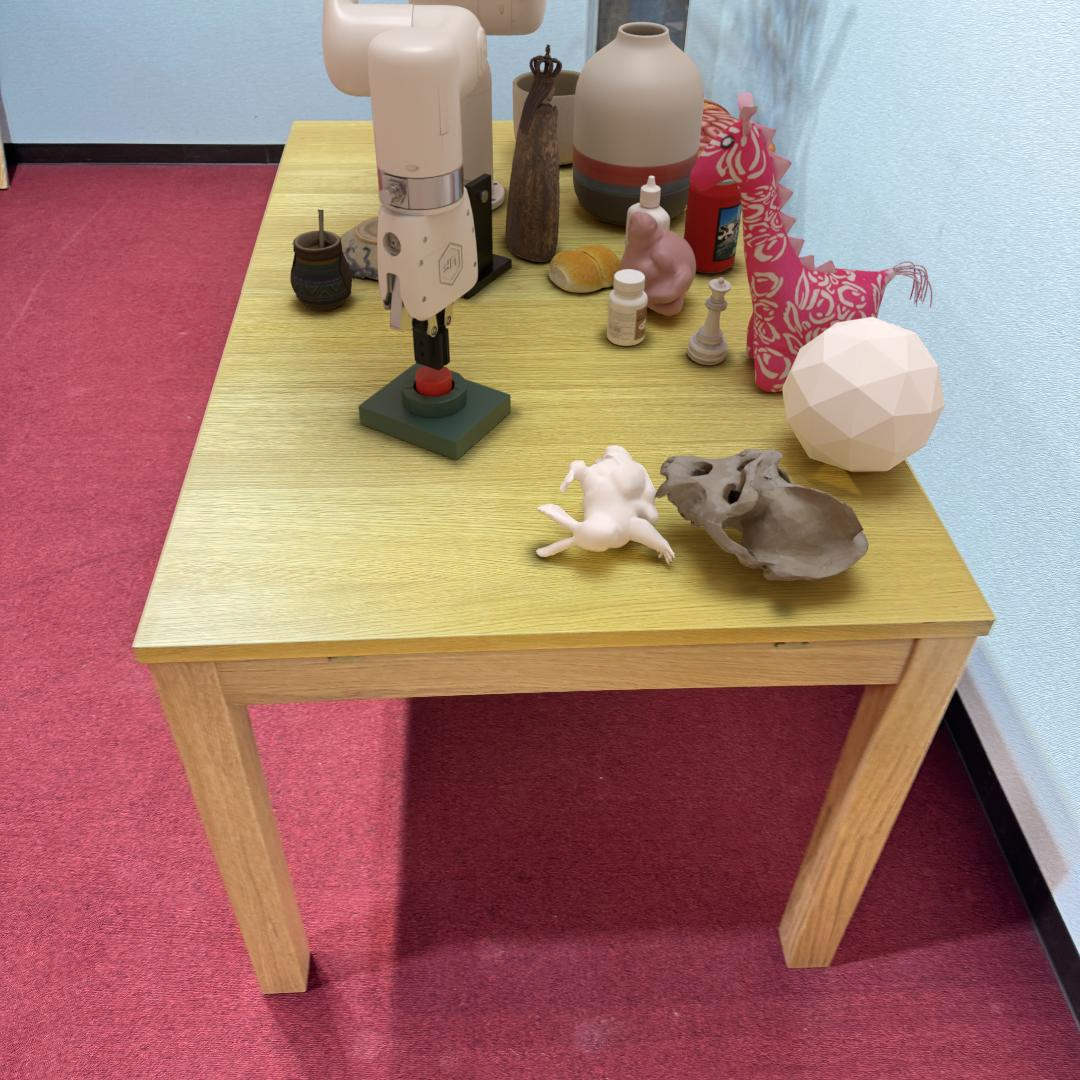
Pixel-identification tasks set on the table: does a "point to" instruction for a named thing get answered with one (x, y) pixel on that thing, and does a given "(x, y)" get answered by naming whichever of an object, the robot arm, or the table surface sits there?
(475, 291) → the lever bracket
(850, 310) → the toy
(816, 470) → the table surface
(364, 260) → the decorative bowl
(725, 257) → the beverage can
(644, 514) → the rabbit figurine
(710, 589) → the table surface
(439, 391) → the button
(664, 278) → the figurine
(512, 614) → the table surface
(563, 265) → the bread roll
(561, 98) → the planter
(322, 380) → the table surface
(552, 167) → the statue
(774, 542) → the skull
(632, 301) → the pill bottle
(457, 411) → the block
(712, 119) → the anatomical model
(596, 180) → the vase
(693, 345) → the chess piece
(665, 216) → the eye dropper bottle
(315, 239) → the mate gourd
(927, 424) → the geometric shape
